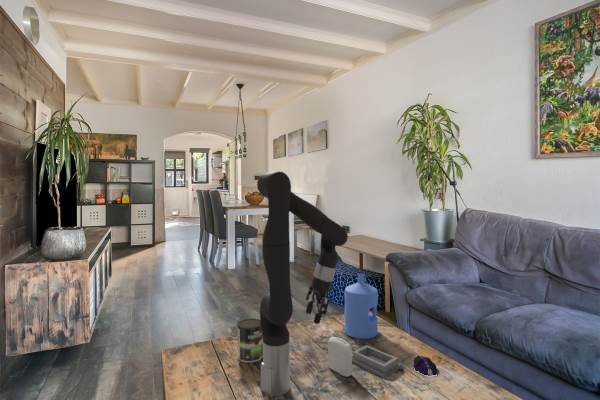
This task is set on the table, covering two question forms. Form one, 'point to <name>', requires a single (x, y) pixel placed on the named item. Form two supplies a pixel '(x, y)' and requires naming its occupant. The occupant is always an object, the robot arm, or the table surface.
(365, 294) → the water jug
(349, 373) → the photo printer
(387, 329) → the table surface
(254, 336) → the coffee can
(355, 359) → the dock
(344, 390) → the table surface
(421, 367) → the computer mouse
